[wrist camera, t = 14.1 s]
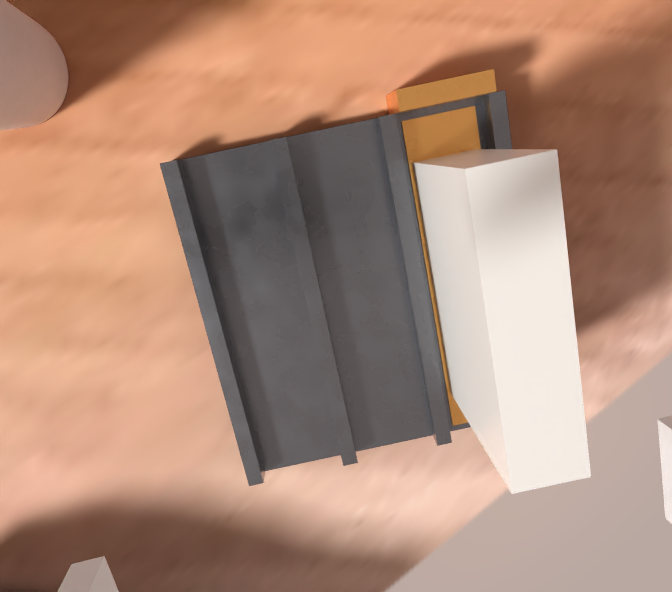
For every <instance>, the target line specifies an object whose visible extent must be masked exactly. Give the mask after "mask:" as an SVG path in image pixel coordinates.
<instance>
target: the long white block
mask: <svg viewBox="0 0 672 592" xmlns="http://www.w3.org/2000/svg"><path fill="white" fill-rule="evenodd" d="M413 168H414V174H415V180H416V186H417V192H418V198H419V204H420V210H421V216H422V222H423V228H424V234H425V240H426V246H427V252H428V258H429V264H430V270H431V276H432V282H433V288H434V294H435V300H436V306H437V312H438V318H439V324H440V330H441V336H442V342H443V348H444V354H445V360H446V366H447V372H448V378H449V384H450V390H451V394H452V396H453V398H454V399H455V401H456V403H457V404H458V406H459V408H460V409H461V411H462V413H463V414H464V416H465V418H466V419H467V421H468V422H469V424H470V426H471V427H472V429H473V431H474V432H475V434H476V436H477V437H478V439H479V441H480V442H481V444H482V446H483V447H484V449H485V451H486V452H487V454H488V456H489V457H490V459H491V460H492V462H493V464H494V465H495V467H496V469H497V470H498V472H499V474H500V475H501V477H502V479H503V480H504V482H505V484H506V485H507V487H508V489H509V490H510V492H511V493H512V494H513V493H517V492H523V491H527V490H532V489H537V488H541V487H545V486H550V485H555V484H560V483H564V482H569V481H574V480H578V479H583V478H588V477H591V473H590V465H589V455H588V444H587V435H586V425H585V415H584V405H583V396H582V386H581V376H580V367H579V357H578V347H577V338H576V328H575V318H574V308H573V299H572V289H571V279H570V270H569V260H568V250H567V240H566V231H565V221H564V211H563V202H562V192H561V182H560V173H559V163H558V153H557V149H473V150H469V151H464V152H459V153H455V154H450V155H445V156H441V157H436V158H431V159H426V160H422V161H417V162H413Z"/></svg>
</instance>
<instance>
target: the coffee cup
mask: <svg viewBox="0 0 672 592" xmlns="http://www.w3.org/2000/svg"><path fill="white" fill-rule="evenodd" d="M67 88H68V68H67V63H66V60H65V57H64V54H63V52H62V50H61V48H60V46H59V44H58V43H57V41H56V40H55V39H54V37H53V36H52V35H51V34H50V33H49V32H48V31H47V30H46V29H45V28H44V27H43V26H41V25H40V24H39V23H37V22H36V21H34V20H33V19H32V18H30V17H29V16H27V15H26V14H24V13H23V12H22V11H20V10H19V9H17V8H16V7H14V6H13V5H12V4H10V3H9V2H7V1H6V0H0V130H9V129H18V128H26V127H32V126H35V125H38V124H41V123H43V122H45V121H46V120H48V119H49V118H50V117H52V116H53V115H54V114H55V113H56V112H57V110H58V109H59V108H60V106H61V105H62V103H63V101H64V99H65V96H66V93H67Z"/></svg>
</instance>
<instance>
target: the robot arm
mask: <svg viewBox="0 0 672 592" xmlns="http://www.w3.org/2000/svg"><path fill="white" fill-rule="evenodd" d="M658 428H659V442H660V454H661V466H662V480H663V492H664V506H665V517H666V519H667V520H668V521H669V522H670V523H671V524H672V416H668V417H665V418H660V419H658ZM57 592H119V591H118V588H117V586H116V583H115V581H114V579H113V576H112V574H111V571H110V569H109V566H108V564H107V561H106V559H105V556H102V557H98V558H94V559H90V560H86V561H82V562H78V563H74V564H71V566H70V568H69V570H68V572H67V574H66V576H65V578H64V580H63V582H62V584H61V586H60V587H59V589H58V591H57Z"/></svg>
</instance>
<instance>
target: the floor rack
mask: <svg viewBox="0 0 672 592" xmlns="http://www.w3.org/2000/svg"><path fill="white" fill-rule="evenodd" d="M496 91H497V89H496V81H495V73H494V69H491V70H486V71H482V72H477V73H472V74H468V75H463V76H458V77H454V78H449V79H444V80H439V81H435V82H430V83H425V84H421V85H416V86H411V87H407V88H402V89H397V90H395V91H393V92H392V93H390V94H388V95H387V96H386V99H387V105H388V110H389V115H386V116H381V117H378V118H374V119H370V120H365V121H360V122H356V123H351V124H346V125H342V126H337V127H332V128H327V129H323V130H318V131H313V132H309V133H304V134H299V135H295V136H290V137H282V138H277V139H273V140H269V141H266V142H262V143H257V144H252V145H248V146H243V147H238V148H233V149H229V150H224V151H219V152H215V153H210V154H205V155H201V156H196V157H191V158H186V159H182V160H174V161H169V162H165V163H160V166H161V170H162V174H163V177H164V181H165V184H166V188H167V192H168V195H169V199H170V202H171V206H172V210H173V213H174V217H175V220H176V224H177V228H178V231H179V235H180V238H181V242H182V246H183V249H184V253H185V256H186V260H187V264H188V267H189V271H190V274H191V278H192V282H193V285H194V289H195V292H196V296H197V300H198V303H199V307H200V310H201V314H202V318H203V321H204V325H205V328H206V332H207V336H208V339H209V343H210V346H211V350H212V354H213V357H214V361H215V364H216V368H217V372H218V375H219V379H220V382H221V386H222V390H223V393H224V397H225V400H226V404H227V408H228V411H229V415H230V418H231V422H232V426H233V429H234V433H235V437H236V440H237V444H238V447H239V451H240V455H241V458H242V462H243V465H244V469H245V473H246V476H247V480H248V483H249V486H252V485H256V484H261V483H264V475H265V471H268V470H272V469H277V468H282V467H286V466H291V465H296V464H300V463H305V462H310V461H314V460H319V459H324V458H328V457H333V456H338V455H341V457H342V462H343V466H345V465H349V464H354V463H358V462H357V456H356V451H361V450H366V449H370V448H375V447H380V446H384V445H389V444H394V443H398V442H403V441H408V440H412V439H417V438H421V437H426V436H431V435H433V437H434V439H435V441H436V443H437V446H438V445H443V444H447V443H452V441H451V435H450V431H454V430H459V429H463V428H468V427H471V426H470V424H469V422H468V421H467V419H466V418H465V416H464V414H463V413H462V411H461V409H460V408H459V406H458V404H457V403H456V401H455V399H454V398H453V396H452V394H451V390H450V384H449V378H448V372H447V366H446V360H445V354H444V348H443V342H442V336H441V330H440V324H439V318H438V312H437V306H436V300H435V294H434V288H433V282H432V276H431V270H430V264H429V258H428V252H427V246H426V240H425V234H424V228H423V222H422V216H421V210H420V204H419V198H418V192H417V186H416V180H415V174H414V168H413V162H417V161H422V160H426V159H431V158H436V157H441V156H445V155H450V154H455V153H459V152H464V151H469V150H473V149H512V143H511V135H510V127H509V119H508V110H507V102H506V94H505V90H503V91H498V92H496ZM492 92H494V93H492Z"/></svg>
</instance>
